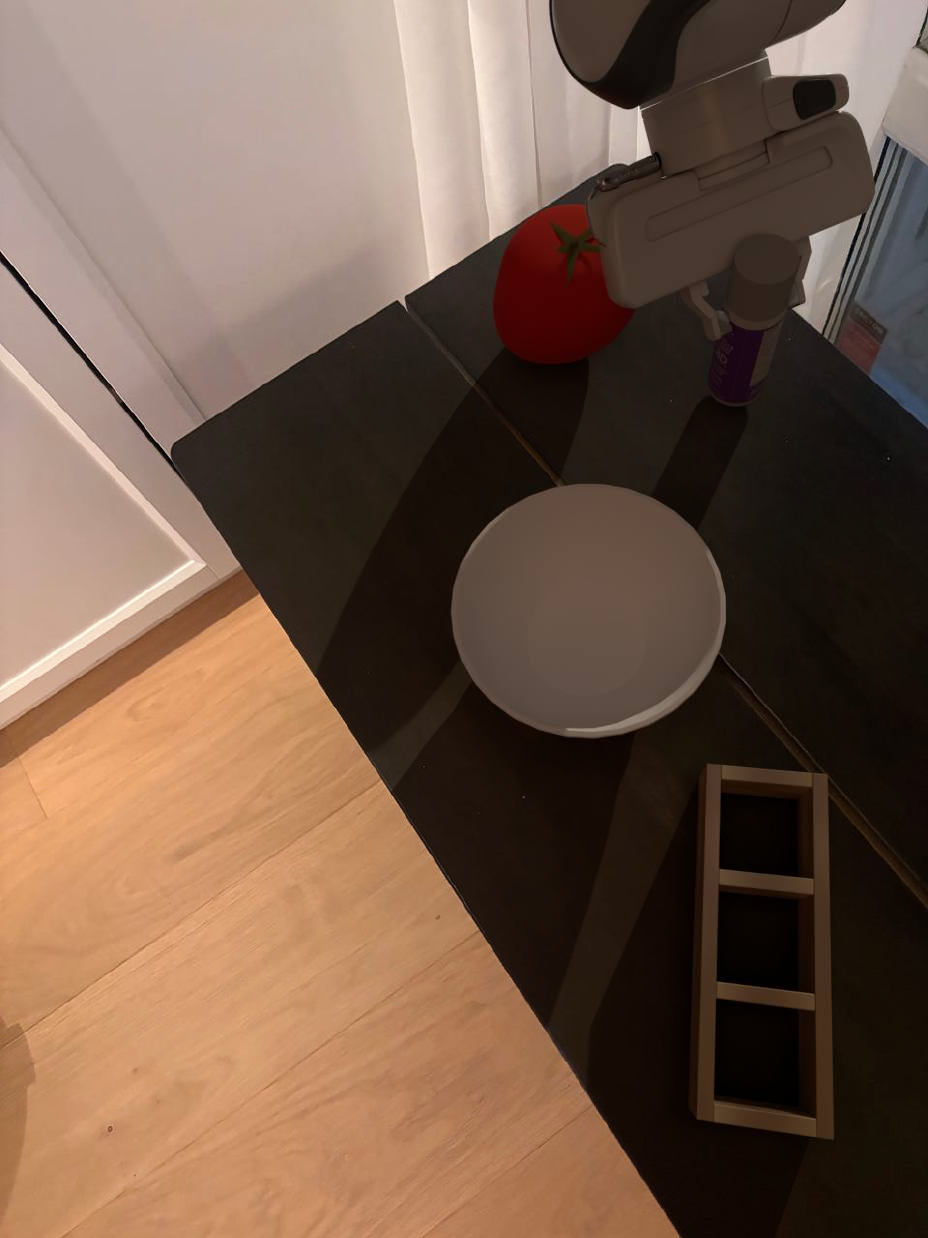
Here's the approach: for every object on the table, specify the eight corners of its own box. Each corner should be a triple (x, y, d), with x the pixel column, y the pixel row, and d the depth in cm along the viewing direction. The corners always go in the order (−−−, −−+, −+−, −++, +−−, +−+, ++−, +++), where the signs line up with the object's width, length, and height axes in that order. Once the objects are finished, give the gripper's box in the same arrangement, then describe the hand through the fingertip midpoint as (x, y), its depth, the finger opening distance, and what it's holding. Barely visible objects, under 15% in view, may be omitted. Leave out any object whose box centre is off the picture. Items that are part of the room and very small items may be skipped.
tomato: (465, 332, 84) (448, 241, 74) (578, 248, 86) (577, 148, 76) (552, 415, 80) (546, 331, 69) (669, 325, 82) (681, 230, 71)
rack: (811, 787, 66) (827, 774, 62) (815, 1126, 59) (834, 1140, 54) (698, 777, 68) (706, 763, 63) (688, 1107, 60) (696, 1119, 55)
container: (695, 387, 78) (718, 263, 64) (729, 351, 79) (759, 221, 65) (740, 416, 77) (774, 296, 63) (774, 379, 78) (815, 252, 64)
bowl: (428, 590, 76) (410, 548, 68) (640, 495, 76) (646, 442, 69) (525, 804, 68) (517, 784, 61) (759, 698, 69) (780, 665, 61)
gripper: (590, 181, 61) (646, 378, 66) (869, 66, 61) (902, 271, 67) (565, 188, 67) (618, 369, 72) (819, 83, 67) (853, 270, 73)
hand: (756, 321), depth 70 cm, fingers closed on container, 5 cm apart
